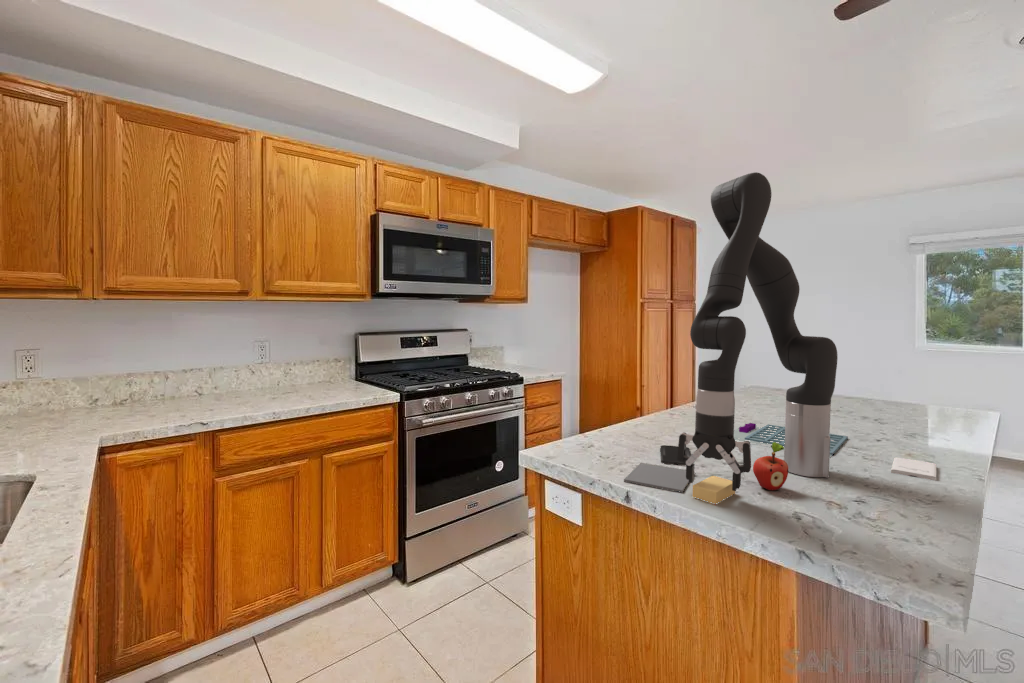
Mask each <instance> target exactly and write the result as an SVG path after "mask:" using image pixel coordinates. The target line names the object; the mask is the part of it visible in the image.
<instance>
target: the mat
mask: <svg viewBox="0 0 1024 683" xmlns="http://www.w3.org/2000/svg"><path fill="white" fill-rule="evenodd" d="M694 473H695V470H694ZM695 474H696V473H695ZM623 482H624V483H628V482H632V483H631V484H633V483H637V484H636V485H638V484H642V485H641V486H643V485H646V486H645V487H649V486H653V487H652V488H654V487H657V488H656V489H659V488H663V489H662V490H664V489H668V490H667V491H670V490H674V491H673V492H675V491H680V492H683V491H685V490H686V489H685V487H686V486H687V487H688V485H689V484H690V483H689V480H687V479H686V469H683V468H675V467H670V466H665V465H660V464H659V465H658V464H652V463H647V462H646V463H645V462H640V463H639V464H638V465H637V466H636V467H635V468H634V469H633V470H632V471H631V472H629V474H628V475H627V476H626V477H624V479H623ZM688 483H689V484H688ZM687 484H688V485H687ZM687 487H686V488H687ZM684 489H685V490H684ZM680 492H679V493H680ZM683 493H684V492H683Z"/></svg>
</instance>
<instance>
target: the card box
mask: <svg viewBox="0 0 1024 683" xmlns="http://www.w3.org/2000/svg"><path fill="white" fill-rule="evenodd" d="M733 494H734V495H735V494H736V491H732V480H730V479H727V478H725V477H724V478H723V477H720V476H716V475H711V476H709V477H707V478H705V479H703V480H701V481H699V482H696V483H695V484H692V496H693V497H696V498H699V499H702V500H705V501H708V502H712V503H715V504H716V503H718V502H720V501H722V500H723V499H725V498H727V497H729V496H731V495H732V496H734V495H733ZM732 496H731V497H732ZM729 498H730V497H729ZM727 499H728V498H727ZM725 500H726V499H725ZM722 502H723V501H722ZM720 503H721V502H720Z"/></svg>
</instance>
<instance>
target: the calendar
mask: <svg viewBox="0 0 1024 683" xmlns="http://www.w3.org/2000/svg"><path fill="white" fill-rule="evenodd" d="M756 424H757V423H753V422H748V423H744V425H742V426H739V427H738V428H736V429H734V439H735V440H739V441H745V440H750V442H751V443H756V444H765V445H768V444H772V443H773V442H779V444H780V445H781V446H784V443H785V439H784V438H785V436H782V435H785V426H781V425H775V424H766V426H764V427H762V428H761V427H760V429H759V427H757V425H756ZM769 426H772V427H769ZM775 427H776V428H775ZM768 428H770V429H768ZM774 429H777V430H774ZM766 430H769V431H766ZM773 431H776V432H773ZM764 432H767V433H764ZM781 432H782V433H781ZM770 433H774V434H770ZM760 434H761V435H760ZM762 434H763V435H762ZM778 434H780V435H778ZM766 435H771V436H766ZM775 436H776V437H775ZM764 437H766V438H764ZM778 437H782V438H778ZM848 437H849V436H848V435H847V436H846V435H840V434H835V433H830V459H831V458H832V457H833V456H834V455H835V454H836V453H837V452H838V450H840V448H841V447H842V446H843V445H844V443H845V442H847V440H848ZM738 438H740V439H738ZM774 439H778V440H774ZM780 440H784V441H780ZM770 441H773V442H770ZM760 442H763V443H760ZM767 443H768V444H767ZM842 444H843V445H842ZM841 445H842V446H841ZM840 446H841V447H840ZM834 453H835V454H834ZM833 454H834V455H833ZM832 455H833V456H832Z"/></svg>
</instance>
